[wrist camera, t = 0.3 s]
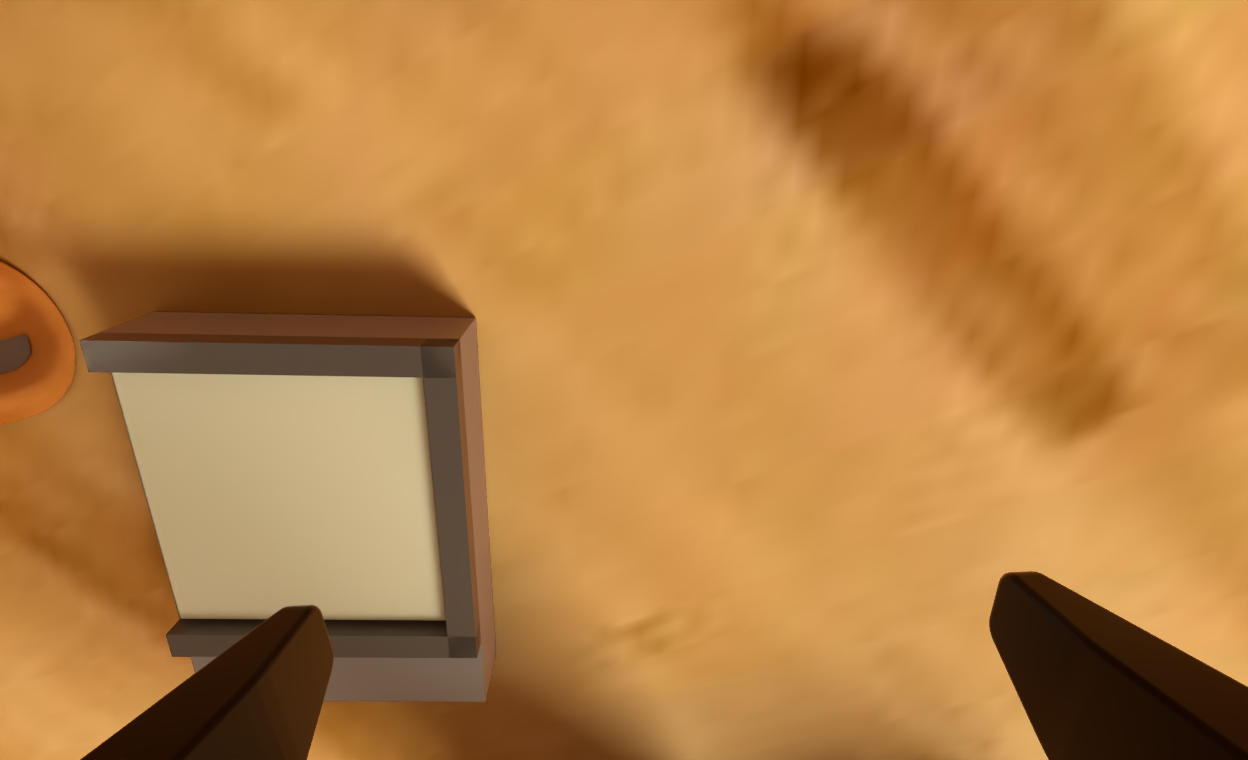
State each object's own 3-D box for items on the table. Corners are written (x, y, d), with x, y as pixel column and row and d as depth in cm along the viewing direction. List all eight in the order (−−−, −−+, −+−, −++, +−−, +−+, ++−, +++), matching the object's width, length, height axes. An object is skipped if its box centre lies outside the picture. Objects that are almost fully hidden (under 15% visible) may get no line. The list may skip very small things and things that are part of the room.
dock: (496, 653, 28) (481, 718, 24) (237, 652, 27) (190, 718, 24) (475, 317, 22) (453, 346, 19) (154, 311, 22) (79, 340, 19)
